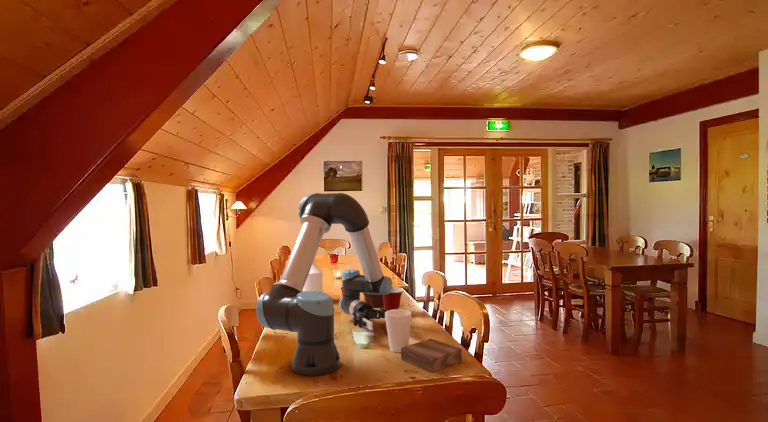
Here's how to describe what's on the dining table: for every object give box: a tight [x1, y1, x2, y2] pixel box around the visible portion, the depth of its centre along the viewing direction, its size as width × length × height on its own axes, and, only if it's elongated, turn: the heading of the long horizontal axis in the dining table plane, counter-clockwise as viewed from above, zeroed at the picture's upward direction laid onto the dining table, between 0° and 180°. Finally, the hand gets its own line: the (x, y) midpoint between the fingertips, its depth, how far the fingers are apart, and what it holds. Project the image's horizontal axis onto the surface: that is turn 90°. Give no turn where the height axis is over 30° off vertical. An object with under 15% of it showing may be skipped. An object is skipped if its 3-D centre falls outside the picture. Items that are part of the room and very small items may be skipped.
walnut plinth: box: [400, 338, 463, 373], centre depth 141 cm, size 14×14×4 cm
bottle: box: [303, 260, 323, 293], centre depth 222 cm, size 12×12×25 cm
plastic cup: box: [382, 286, 404, 310], centre depth 198 cm, size 11×11×12 cm
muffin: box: [362, 293, 384, 309], centre depth 214 cm, size 12×11×10 cm
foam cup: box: [384, 308, 413, 353], centre depth 152 cm, size 10×9×13 cm
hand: (387, 323), depth 159 cm, fingers open, 13 cm apart
